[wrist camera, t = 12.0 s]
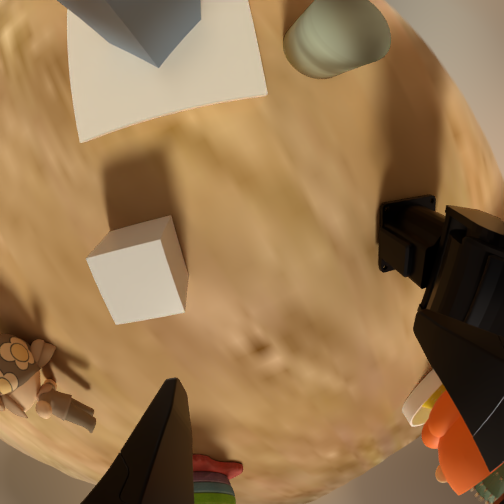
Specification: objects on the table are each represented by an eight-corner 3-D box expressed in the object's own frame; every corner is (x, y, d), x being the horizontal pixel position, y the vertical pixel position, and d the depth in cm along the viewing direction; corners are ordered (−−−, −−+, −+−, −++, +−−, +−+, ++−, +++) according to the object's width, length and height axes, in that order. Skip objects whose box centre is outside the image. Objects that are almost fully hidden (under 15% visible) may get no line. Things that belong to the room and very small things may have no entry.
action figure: (78, 435, 24) (-18, 376, 18) (106, 369, 29) (9, 304, 23) (84, 475, 16) (-45, 398, 10) (118, 392, 21) (-16, 304, 15)
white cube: (171, 214, 19) (160, 239, 15) (188, 275, 21) (185, 312, 17) (110, 230, 19) (85, 258, 15) (131, 287, 21) (116, 324, 17)
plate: (234, -41, 11) (235, -47, 11) (264, 96, 17) (267, 94, 16) (72, 2, 11) (67, -2, 10) (85, 142, 16) (79, 142, 15)
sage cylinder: (339, 23, 15) (379, -4, 9) (352, 79, 17) (398, 66, 11) (277, 21, 15) (302, -15, 9) (290, 80, 17) (322, 61, 11)
